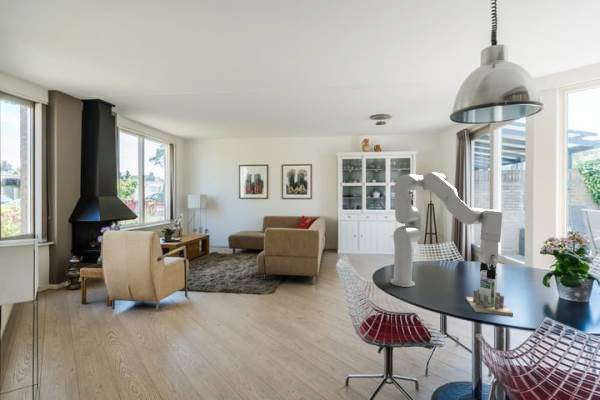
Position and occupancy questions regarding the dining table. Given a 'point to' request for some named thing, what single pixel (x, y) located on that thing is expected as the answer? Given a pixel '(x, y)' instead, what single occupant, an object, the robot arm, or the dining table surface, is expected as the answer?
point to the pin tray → (490, 309)
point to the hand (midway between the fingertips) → (487, 275)
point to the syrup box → (487, 288)
